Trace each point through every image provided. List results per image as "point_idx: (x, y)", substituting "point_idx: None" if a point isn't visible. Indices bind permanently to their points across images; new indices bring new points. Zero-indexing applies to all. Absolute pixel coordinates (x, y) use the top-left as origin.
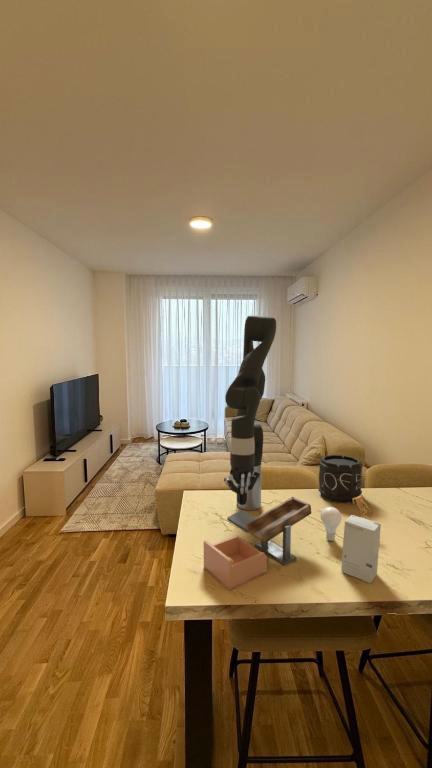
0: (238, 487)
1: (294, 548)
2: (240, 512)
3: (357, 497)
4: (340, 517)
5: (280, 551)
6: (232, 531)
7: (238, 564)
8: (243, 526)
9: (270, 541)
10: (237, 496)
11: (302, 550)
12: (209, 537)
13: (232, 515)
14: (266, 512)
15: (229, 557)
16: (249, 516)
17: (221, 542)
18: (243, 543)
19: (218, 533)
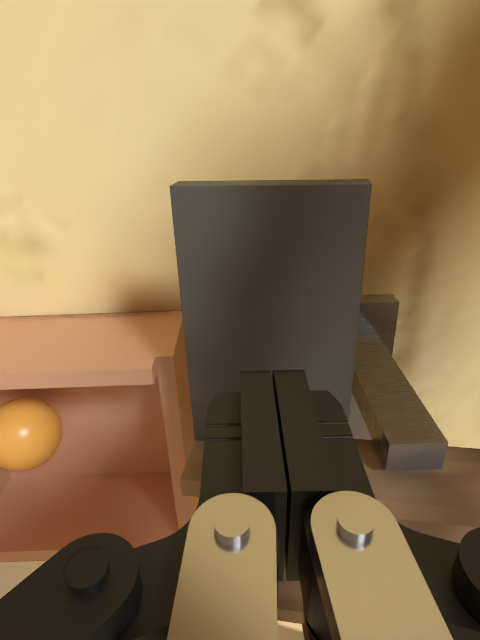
0: (234, 624)
1: (445, 411)
2: (326, 220)
3: None
4: None
5: (352, 426)
6: (311, 48)
7: (11, 560)
8: (200, 398)
9: (389, 338)
10: (204, 469)
11: (457, 438)
12: (107, 22)
13: (230, 201)
14: (411, 510)
15: (26, 454)
16: (332, 340)
17: (6, 384)
18: (163, 403)
19: (200, 6)
